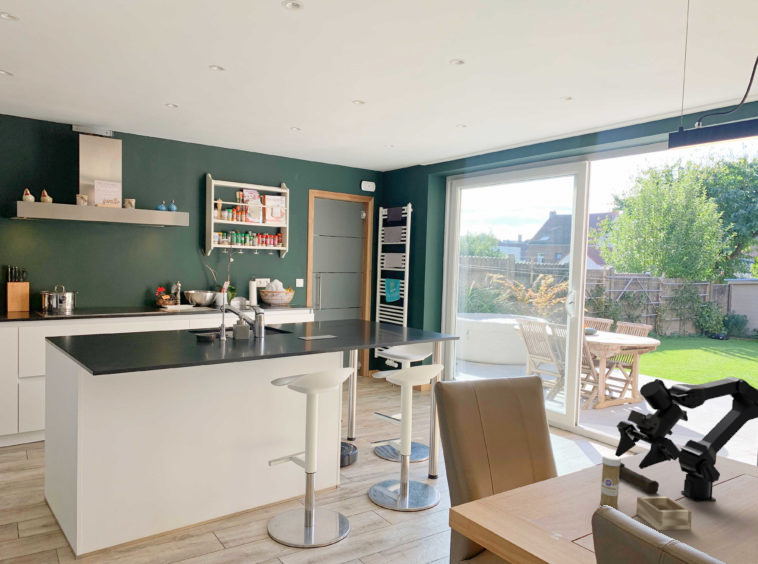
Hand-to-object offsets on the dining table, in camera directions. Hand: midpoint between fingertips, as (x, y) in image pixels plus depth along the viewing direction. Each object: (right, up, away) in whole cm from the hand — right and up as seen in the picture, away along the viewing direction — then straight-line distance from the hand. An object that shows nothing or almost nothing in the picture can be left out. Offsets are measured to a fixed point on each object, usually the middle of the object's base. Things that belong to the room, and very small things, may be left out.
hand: (627, 461), depth 152 cm
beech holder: (+5, -12, -10) cm, 16 cm away
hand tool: (+8, -12, +17) cm, 22 cm away
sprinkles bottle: (-6, -12, -1) cm, 13 cm away
